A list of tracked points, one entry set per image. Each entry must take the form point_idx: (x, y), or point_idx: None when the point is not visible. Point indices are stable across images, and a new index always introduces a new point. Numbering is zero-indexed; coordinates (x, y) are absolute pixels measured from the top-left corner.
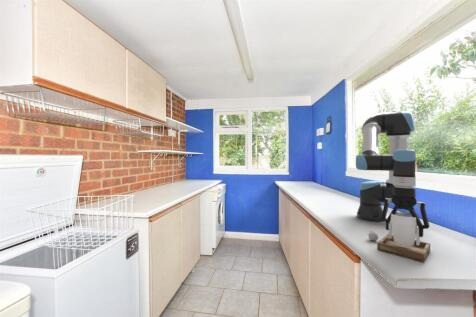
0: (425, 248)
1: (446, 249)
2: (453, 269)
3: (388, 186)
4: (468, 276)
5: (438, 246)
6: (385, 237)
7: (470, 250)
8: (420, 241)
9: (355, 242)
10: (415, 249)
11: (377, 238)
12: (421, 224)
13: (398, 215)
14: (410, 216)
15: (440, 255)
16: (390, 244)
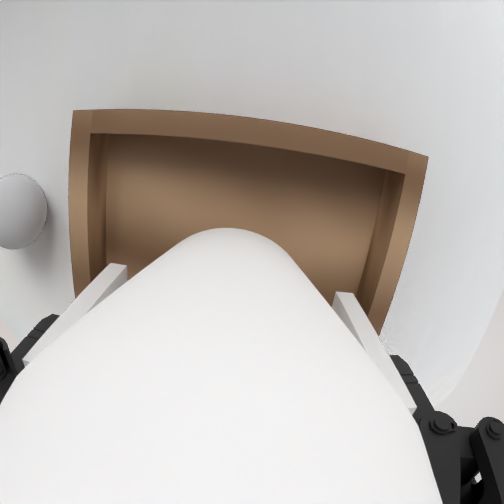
0: (375, 319)
1: (471, 67)
2: (430, 369)
3: None
4: (449, 390)
5: (437, 26)
6: (80, 241)
7: None
8: (362, 144)
9: (3, 309)
10: (309, 258)
11: (43, 219)
12: (442, 463)
13: (7, 420)
14: (368, 482)
15: (437, 213)
16: (139, 266)
